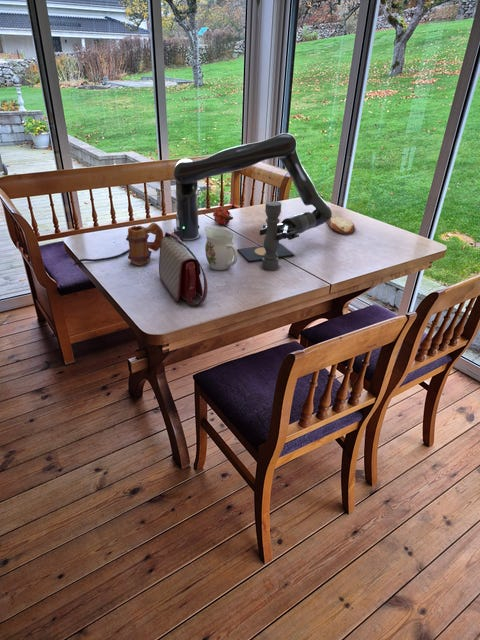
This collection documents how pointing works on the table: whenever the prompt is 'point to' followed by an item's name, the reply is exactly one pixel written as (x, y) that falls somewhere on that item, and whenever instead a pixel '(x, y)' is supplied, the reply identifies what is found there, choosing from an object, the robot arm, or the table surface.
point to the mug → (143, 242)
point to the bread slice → (341, 225)
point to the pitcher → (220, 248)
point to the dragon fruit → (222, 215)
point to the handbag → (180, 270)
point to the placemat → (262, 253)
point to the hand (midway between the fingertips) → (268, 235)
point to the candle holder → (271, 236)
